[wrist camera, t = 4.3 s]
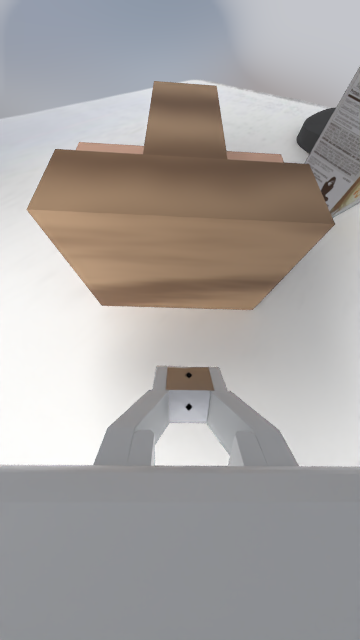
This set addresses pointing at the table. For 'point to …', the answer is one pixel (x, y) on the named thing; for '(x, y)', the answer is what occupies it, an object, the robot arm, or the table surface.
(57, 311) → the table surface
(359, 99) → the coffee box
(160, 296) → the t block
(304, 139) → the media streaming box
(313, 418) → the table surface
